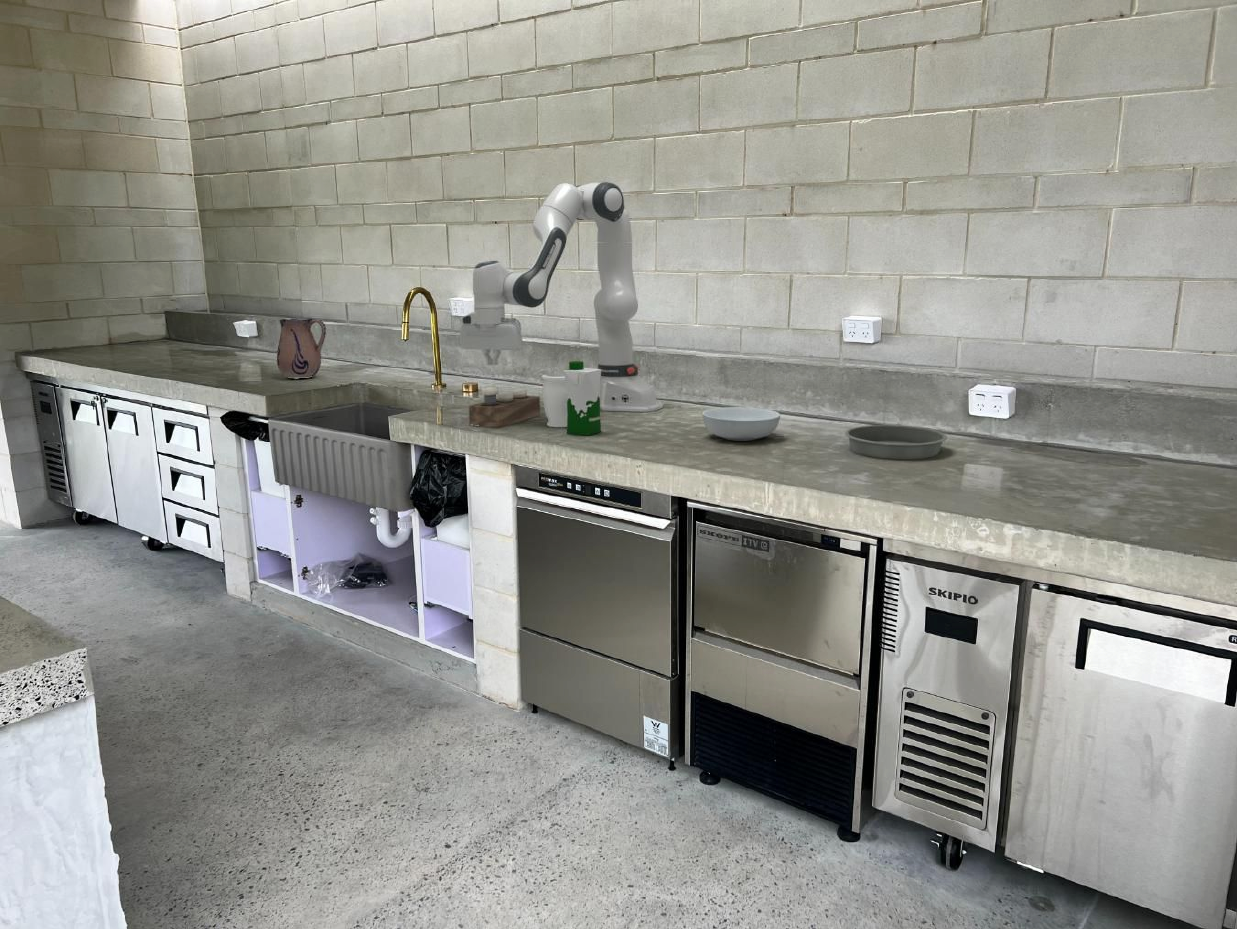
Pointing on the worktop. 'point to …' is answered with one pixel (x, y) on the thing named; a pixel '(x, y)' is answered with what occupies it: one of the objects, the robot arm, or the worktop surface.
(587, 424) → the milk carton
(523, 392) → the knob
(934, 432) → the cake pan
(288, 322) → the ceramic pitcher
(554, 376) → the white cup
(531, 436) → the worktop surface
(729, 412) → the serving bowl
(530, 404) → the knob mount
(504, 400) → the knob middle
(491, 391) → the knob
